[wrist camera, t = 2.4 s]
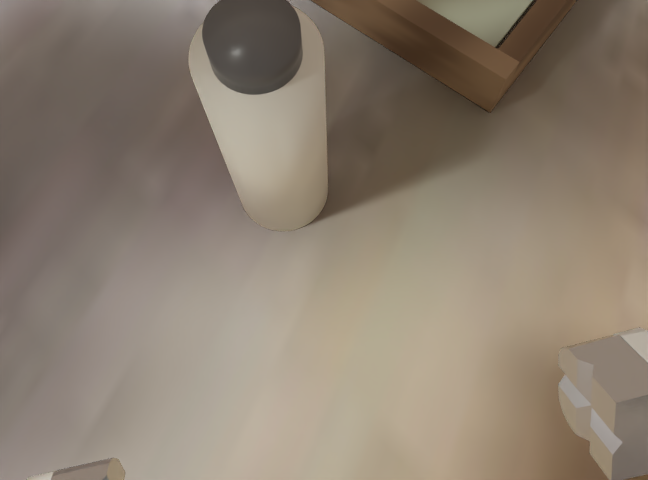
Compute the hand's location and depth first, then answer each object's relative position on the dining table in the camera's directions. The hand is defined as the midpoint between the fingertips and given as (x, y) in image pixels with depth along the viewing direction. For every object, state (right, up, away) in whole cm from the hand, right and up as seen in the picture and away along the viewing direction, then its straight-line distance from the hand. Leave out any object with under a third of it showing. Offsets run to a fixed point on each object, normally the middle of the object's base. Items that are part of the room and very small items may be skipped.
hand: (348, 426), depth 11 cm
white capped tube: (-2, +6, +19) cm, 20 cm away
